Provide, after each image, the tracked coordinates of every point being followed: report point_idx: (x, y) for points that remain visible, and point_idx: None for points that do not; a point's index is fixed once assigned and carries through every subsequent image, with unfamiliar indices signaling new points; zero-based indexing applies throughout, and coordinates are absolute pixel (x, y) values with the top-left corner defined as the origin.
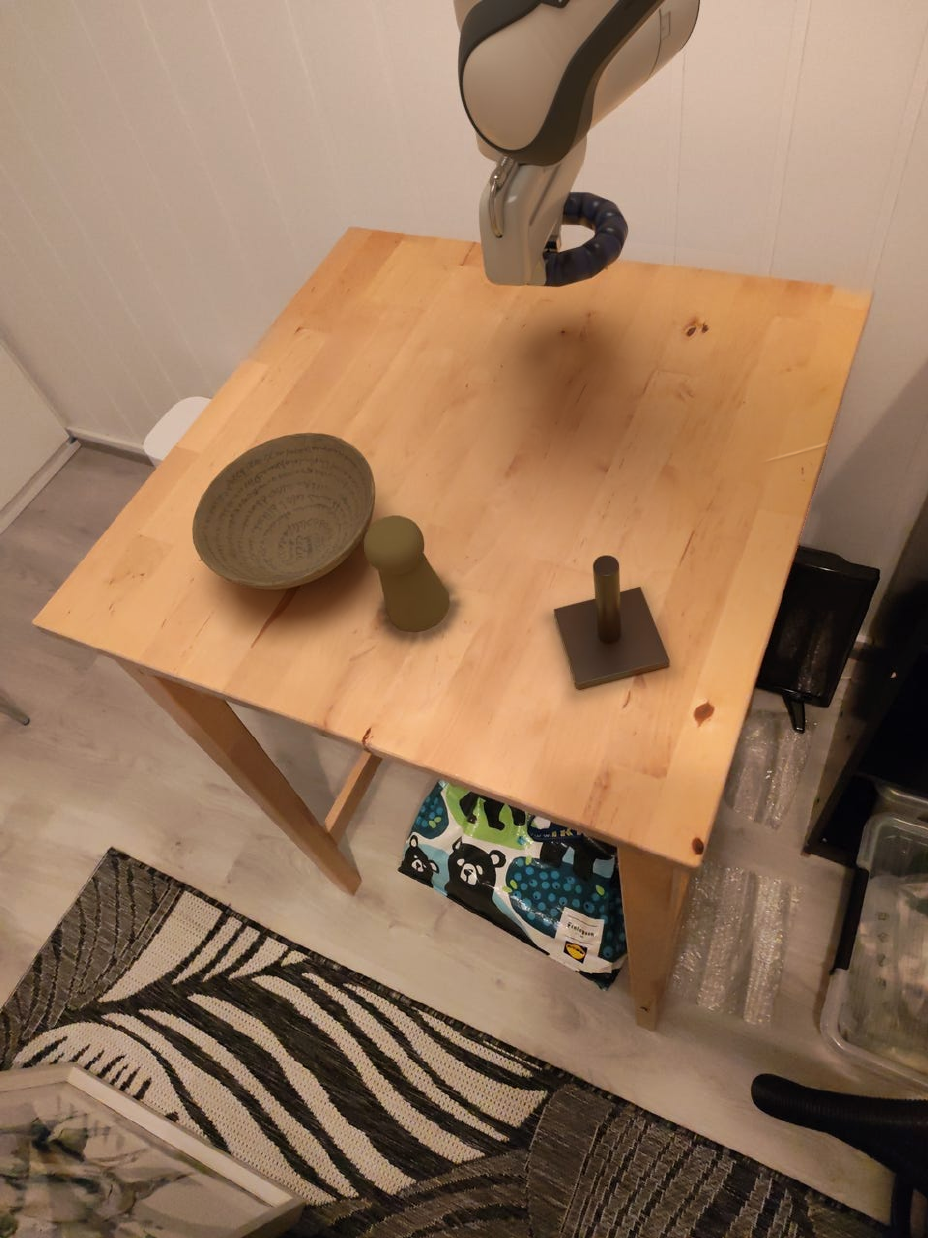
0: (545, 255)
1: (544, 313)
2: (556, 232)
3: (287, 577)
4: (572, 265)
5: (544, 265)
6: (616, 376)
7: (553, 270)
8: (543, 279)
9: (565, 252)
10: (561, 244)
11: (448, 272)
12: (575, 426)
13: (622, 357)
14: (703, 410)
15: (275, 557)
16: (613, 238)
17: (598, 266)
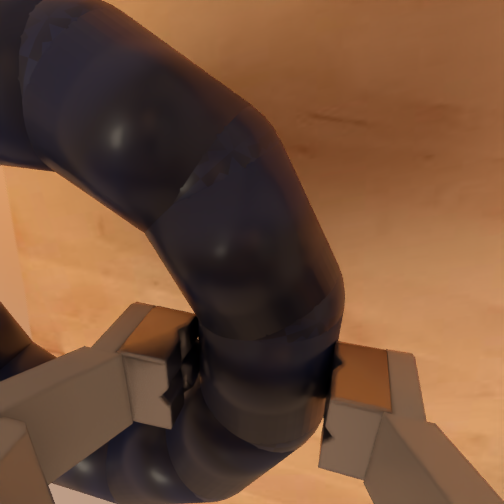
0: (253, 386)
1: (131, 226)
2: (111, 371)
3: None
4: (295, 247)
5: (407, 424)
6: (281, 48)
7: (331, 331)
8: (418, 376)
9: (223, 302)
10: (131, 307)
11: None
12: (443, 112)
13: (222, 48)
14: None
15: None
16: (42, 35)
17: (239, 100)
